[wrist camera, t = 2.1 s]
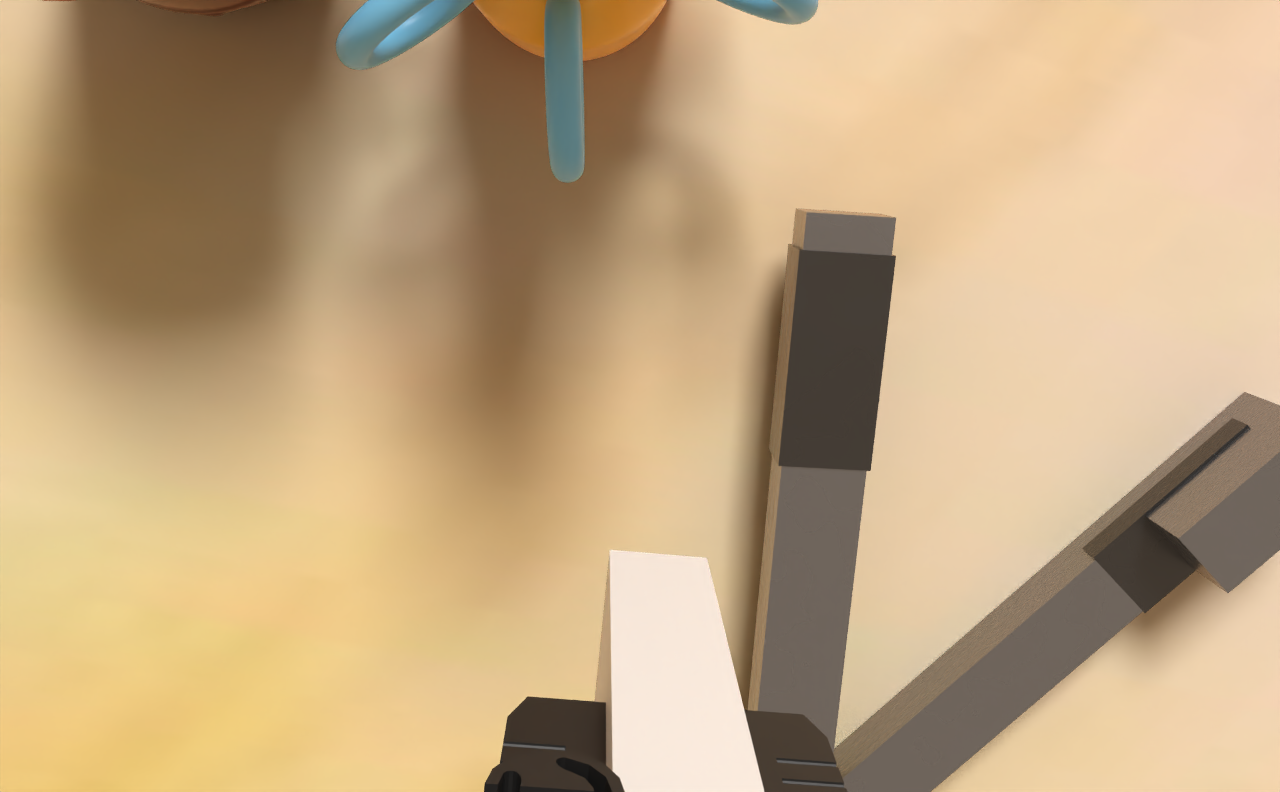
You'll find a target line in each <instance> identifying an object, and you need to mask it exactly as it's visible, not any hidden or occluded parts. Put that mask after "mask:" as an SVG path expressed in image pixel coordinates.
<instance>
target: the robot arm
mask: <svg viewBox="0 0 1280 792" xmlns="http://www.w3.org/2000/svg"><path fill="white" fill-rule="evenodd" d="M484 792H847V789H846V788H844V781H843V778H842V776H841V773H840V770H839V768H838V767H836V760H835V757H834V754H833V752H832V749H831V746H830V744H829V741H828V738H827V737H826V736H825V735H824V734H823V733H822V732H821V731H820V730H819V729H818V728H817V727H816V726H815V725H814V724H813V723H812V722H811V721H810V720H809V719H807V718H806V717H805V716H804V715H803V714H792V713H779V712H765V711H752V710H744V707H743V703H742V699H741V695H740V691H739V686H738V682H737V678H736V674H735V670H734V666H733V662H732V658H731V654H730V650H729V646H728V642H727V638H726V634H725V630H724V625H723V621H722V617H721V613H720V609H719V605H718V601H717V597H716V593H715V589H714V585H713V581H712V577H711V573H710V568H709V564H708V560H707V558H704V557H692V556H680V555H667V554H655V553H643V552H631V551H619V550H610V552H609V562H608V572H607V582H606V592H605V602H604V612H603V622H602V632H601V642H600V652H599V662H598V672H597V682H596V692H595V702H593V701H579V700H566V699H553V698H539V697H527V698H526V699H525V700H524V701H523V702H522V703H521V704H520V705H519V706H518V707H517V708H516V709H515V710H514V711H513V712H512V713H511V714H510V715H509V716H508V718H507V724H506V730H505V736H504V742H503V748H502V754H501V760H500V764H499V765H497V766H496V767H494V768H493V769H492V771H491V773H490V775H489V777H488V778H487V780H486V782H485V787H484Z"/></svg>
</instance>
